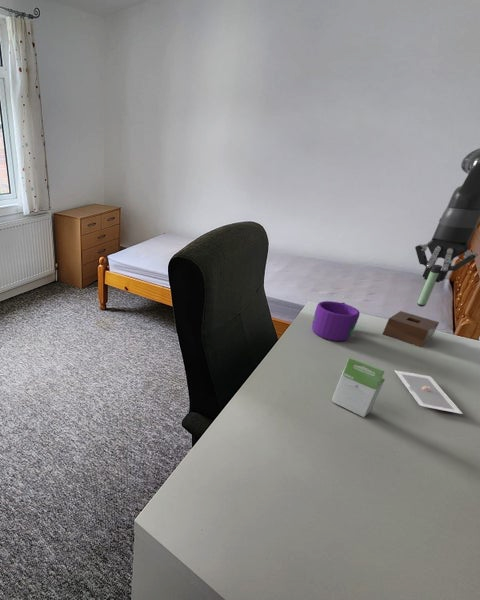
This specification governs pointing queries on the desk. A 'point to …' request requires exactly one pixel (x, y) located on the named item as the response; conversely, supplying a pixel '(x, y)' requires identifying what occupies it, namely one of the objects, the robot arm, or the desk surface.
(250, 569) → the desk surface
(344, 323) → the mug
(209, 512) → the desk surface
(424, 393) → the touchpad
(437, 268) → the marker
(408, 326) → the pen stand
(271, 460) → the desk surface
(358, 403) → the ink box
